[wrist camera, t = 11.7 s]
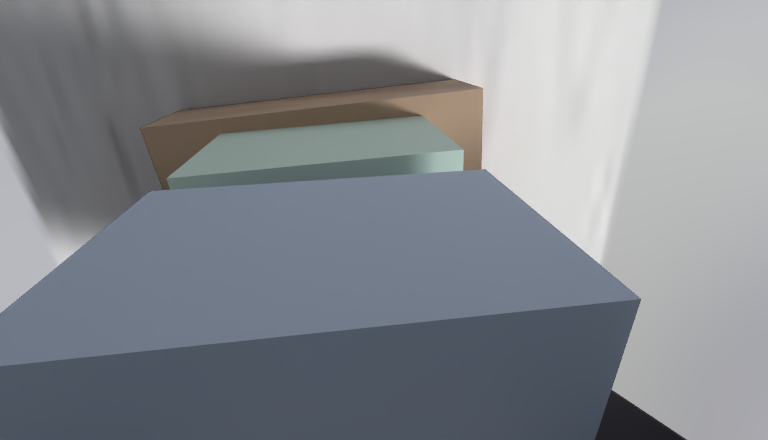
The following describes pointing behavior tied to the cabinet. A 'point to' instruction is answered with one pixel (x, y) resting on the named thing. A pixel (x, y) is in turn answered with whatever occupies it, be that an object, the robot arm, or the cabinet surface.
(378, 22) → the cabinet surface
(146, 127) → the walnut block
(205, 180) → the sage block
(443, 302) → the slate block
